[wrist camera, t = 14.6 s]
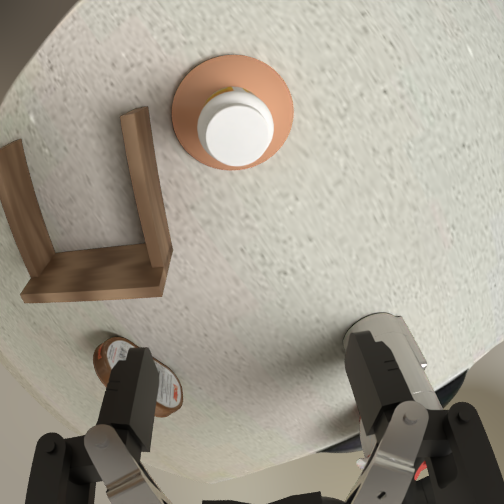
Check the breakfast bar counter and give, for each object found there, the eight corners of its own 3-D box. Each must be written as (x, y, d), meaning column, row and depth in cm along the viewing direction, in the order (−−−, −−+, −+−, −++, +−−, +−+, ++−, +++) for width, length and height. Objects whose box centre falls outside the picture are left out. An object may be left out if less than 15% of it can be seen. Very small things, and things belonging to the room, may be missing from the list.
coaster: (289, 53, 25) (291, 52, 24) (292, 163, 31) (294, 166, 30) (167, 62, 25) (165, 62, 24) (181, 172, 31) (179, 176, 30)
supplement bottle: (198, 140, 28) (189, 173, 20) (206, 82, 25) (198, 89, 17) (257, 146, 29) (272, 182, 21) (267, 90, 26) (288, 101, 18)
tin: (100, 332, 42) (84, 378, 34) (111, 323, 41) (96, 370, 34) (174, 382, 48) (170, 426, 41) (188, 376, 48) (185, 421, 40)
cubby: (148, 106, 27) (122, 119, 20) (172, 250, 35) (162, 296, 28) (13, 141, 26) (-30, 165, 19) (51, 262, 35) (24, 303, 28)
